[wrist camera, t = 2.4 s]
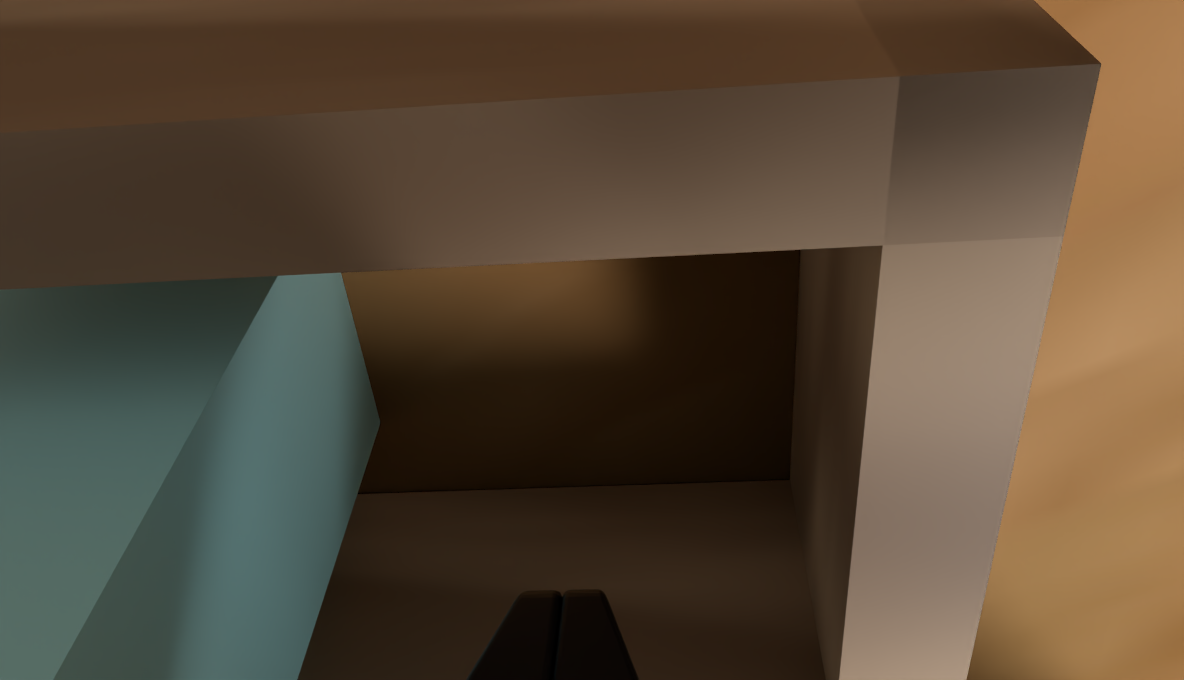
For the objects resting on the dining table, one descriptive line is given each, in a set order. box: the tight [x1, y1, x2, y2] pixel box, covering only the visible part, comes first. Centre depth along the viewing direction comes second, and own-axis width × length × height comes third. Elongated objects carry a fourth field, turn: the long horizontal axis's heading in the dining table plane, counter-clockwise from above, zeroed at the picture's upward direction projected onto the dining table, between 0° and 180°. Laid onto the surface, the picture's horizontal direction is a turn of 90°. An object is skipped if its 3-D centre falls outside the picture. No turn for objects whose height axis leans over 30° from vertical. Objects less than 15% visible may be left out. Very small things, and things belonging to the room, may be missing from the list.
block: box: [0, 273, 380, 680], centre depth 12 cm, size 4×4×8 cm
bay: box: [0, 0, 1101, 680], centre depth 13 cm, size 10×12×4 cm
